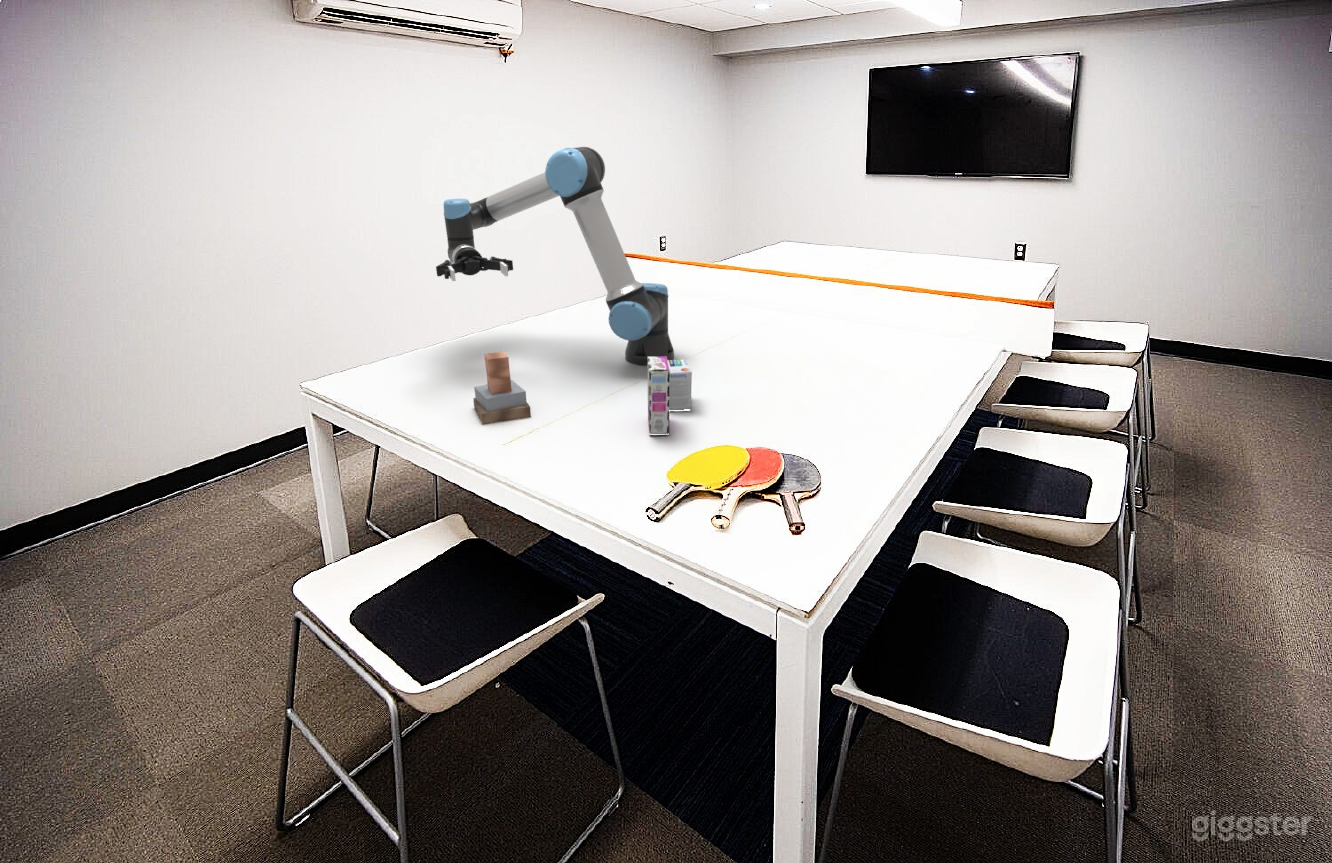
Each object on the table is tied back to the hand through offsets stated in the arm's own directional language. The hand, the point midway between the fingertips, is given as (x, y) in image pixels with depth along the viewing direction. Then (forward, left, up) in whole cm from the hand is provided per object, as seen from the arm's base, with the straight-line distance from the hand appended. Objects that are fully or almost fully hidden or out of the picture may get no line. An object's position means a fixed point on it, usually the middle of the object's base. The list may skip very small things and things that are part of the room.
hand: (480, 273), depth 190 cm
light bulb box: (-42, +32, -32) cm, 62 cm away
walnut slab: (+1, +19, -33) cm, 38 cm away
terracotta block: (+1, +19, -26) cm, 32 cm away
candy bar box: (-32, +44, -32) cm, 63 cm away
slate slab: (+1, +18, -29) cm, 34 cm away
